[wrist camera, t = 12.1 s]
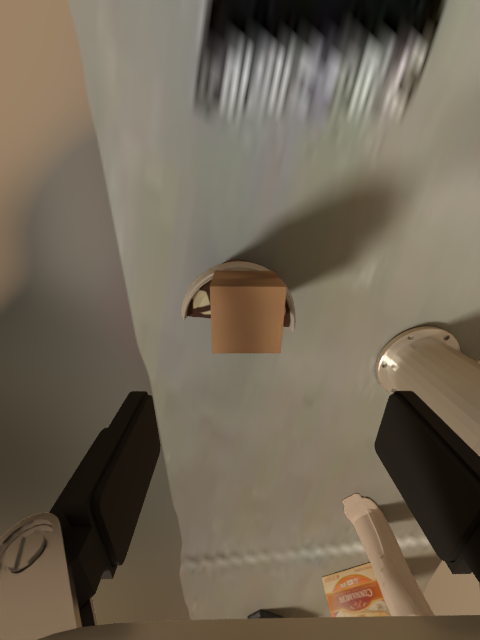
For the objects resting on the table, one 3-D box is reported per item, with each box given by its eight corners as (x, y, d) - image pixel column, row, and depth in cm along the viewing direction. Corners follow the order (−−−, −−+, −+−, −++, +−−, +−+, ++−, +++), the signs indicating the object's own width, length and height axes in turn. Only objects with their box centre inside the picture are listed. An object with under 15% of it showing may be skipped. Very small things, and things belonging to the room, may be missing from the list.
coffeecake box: (372, 560, 64) (427, 695, 46) (380, 571, 66) (435, 703, 49) (320, 576, 66) (352, 709, 49) (329, 586, 69) (364, 716, 51)
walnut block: (274, 270, 22) (286, 286, 17) (270, 324, 25) (280, 353, 20) (214, 270, 22) (209, 286, 17) (216, 324, 24) (212, 353, 19)
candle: (363, 489, 52) (436, 639, 33) (388, 519, 56) (463, 665, 38) (333, 502, 53) (387, 653, 35) (360, 530, 58) (419, 676, 40)
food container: (289, 257, 32) (313, 274, 23) (280, 301, 34) (298, 332, 25) (195, 244, 31) (179, 257, 22) (192, 290, 33) (177, 319, 24)
